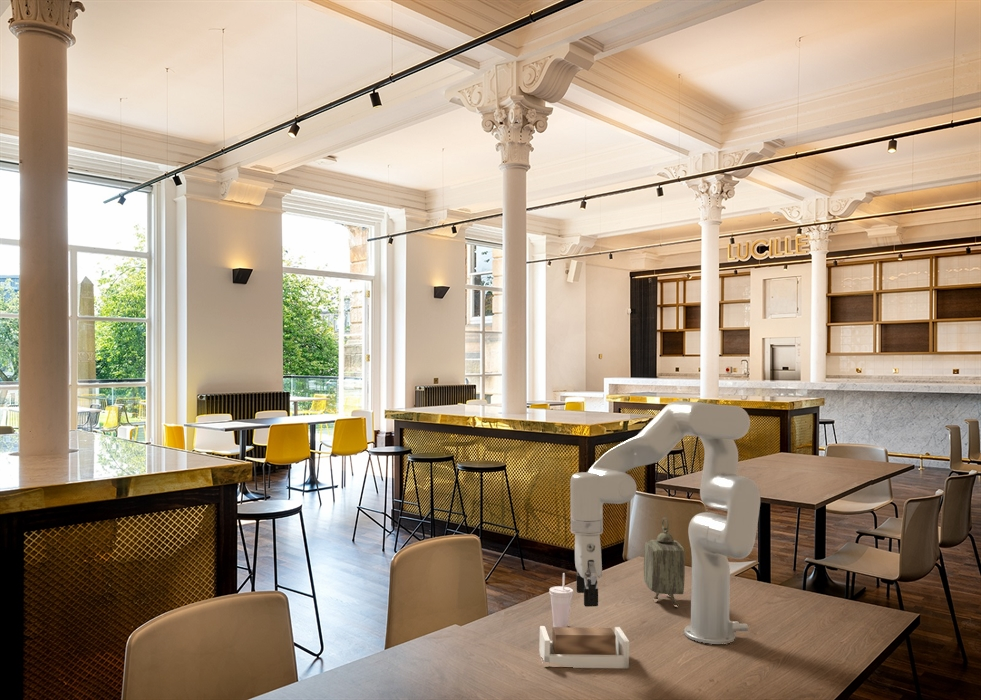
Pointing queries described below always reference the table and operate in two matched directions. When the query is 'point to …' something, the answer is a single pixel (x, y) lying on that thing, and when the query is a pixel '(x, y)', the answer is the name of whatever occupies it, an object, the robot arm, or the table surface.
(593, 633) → the plank
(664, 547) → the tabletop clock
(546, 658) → the frame
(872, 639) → the table surface
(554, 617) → the smoothie
